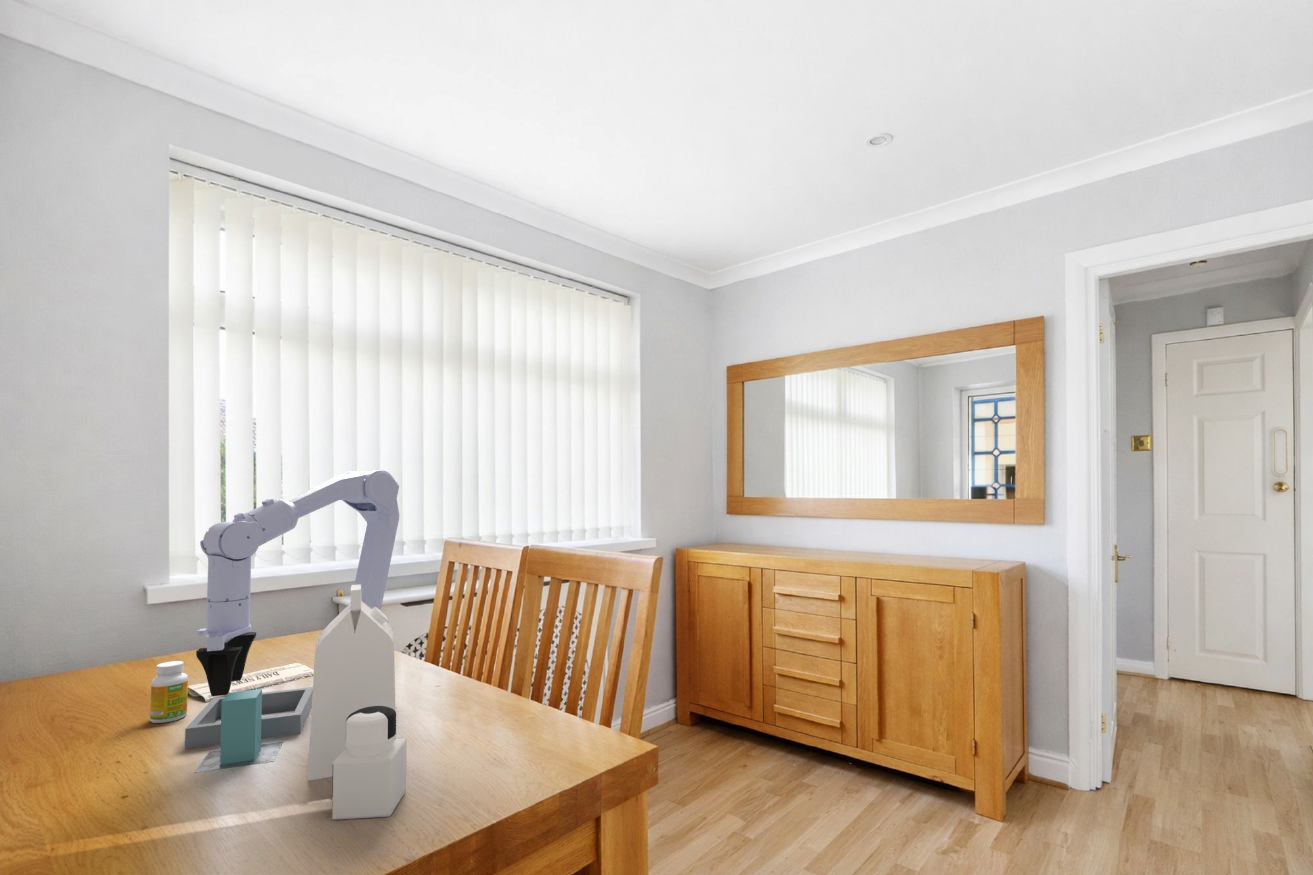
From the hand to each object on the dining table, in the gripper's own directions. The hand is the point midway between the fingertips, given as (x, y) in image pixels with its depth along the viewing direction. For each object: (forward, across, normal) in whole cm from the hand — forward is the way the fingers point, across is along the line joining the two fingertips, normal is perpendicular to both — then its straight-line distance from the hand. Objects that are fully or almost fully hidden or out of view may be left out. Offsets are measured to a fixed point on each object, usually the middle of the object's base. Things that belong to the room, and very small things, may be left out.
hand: (226, 687), depth 103 cm
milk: (+11, +11, +19) cm, 24 cm away
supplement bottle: (+11, -24, -14) cm, 30 cm away
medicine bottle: (+11, +26, +22) cm, 36 cm away
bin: (+10, -11, +2) cm, 15 cm away
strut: (+9, +4, +3) cm, 11 cm away
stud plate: (+10, +4, +3) cm, 11 cm away
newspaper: (+11, -43, -6) cm, 45 cm away
